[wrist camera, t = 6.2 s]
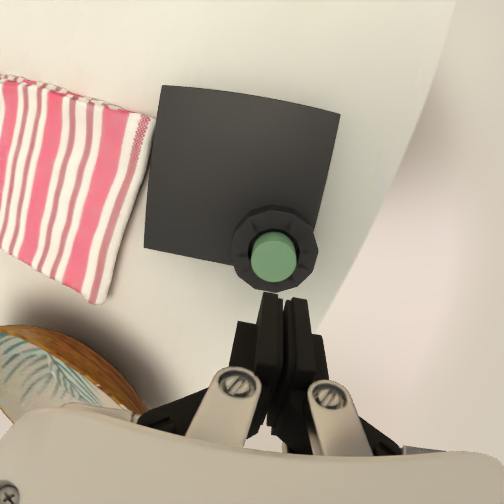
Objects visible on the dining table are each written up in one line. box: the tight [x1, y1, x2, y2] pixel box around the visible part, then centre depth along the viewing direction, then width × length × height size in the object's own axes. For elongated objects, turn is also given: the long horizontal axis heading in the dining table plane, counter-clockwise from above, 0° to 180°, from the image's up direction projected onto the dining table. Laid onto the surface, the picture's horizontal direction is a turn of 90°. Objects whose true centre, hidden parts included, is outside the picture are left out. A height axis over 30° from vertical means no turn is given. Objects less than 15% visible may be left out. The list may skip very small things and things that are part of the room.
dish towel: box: [0, 75, 156, 305], centre depth 21 cm, size 17×23×4 cm
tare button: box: [251, 232, 296, 282], centre depth 20 cm, size 3×3×2 cm
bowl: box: [0, 325, 147, 424], centre depth 28 cm, size 25×25×8 cm
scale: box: [144, 85, 340, 293], centre depth 21 cm, size 12×13×4 cm
